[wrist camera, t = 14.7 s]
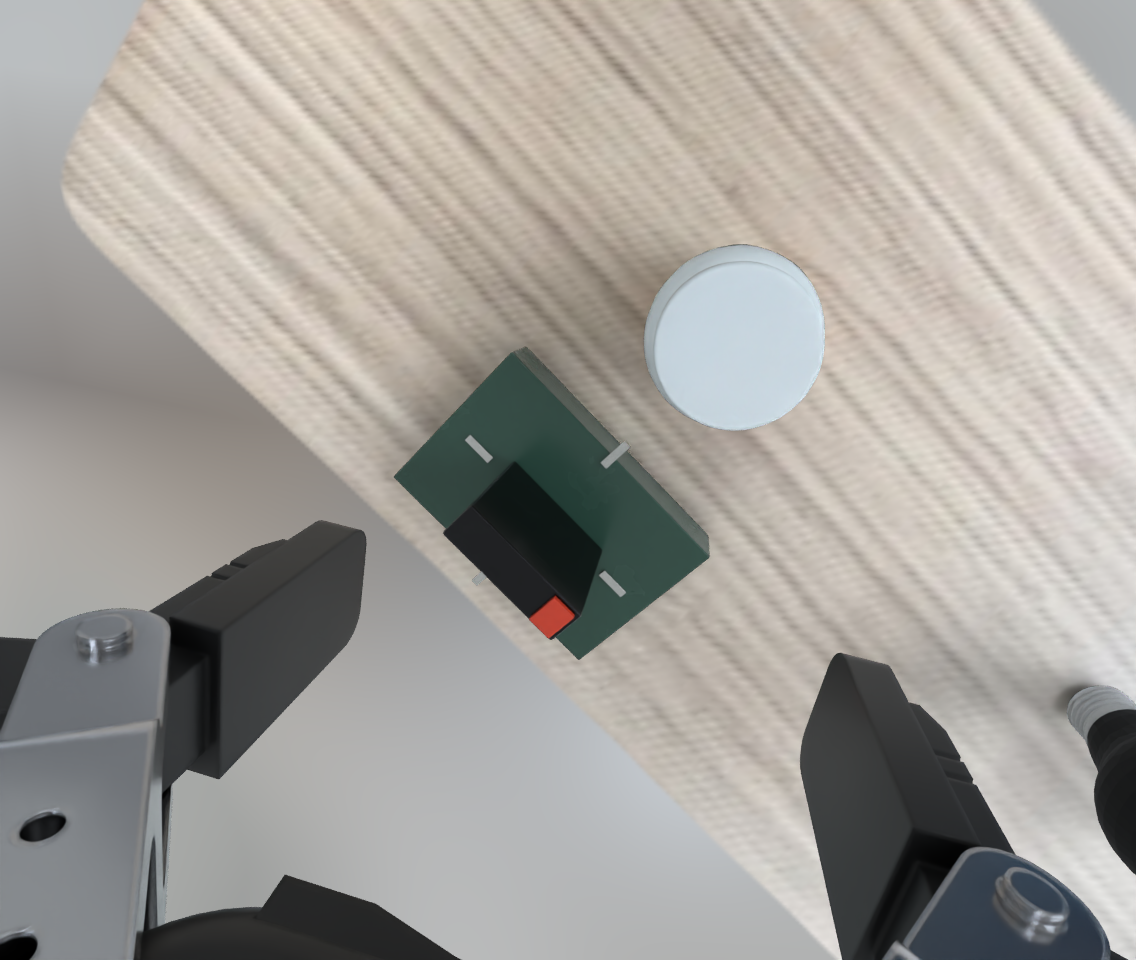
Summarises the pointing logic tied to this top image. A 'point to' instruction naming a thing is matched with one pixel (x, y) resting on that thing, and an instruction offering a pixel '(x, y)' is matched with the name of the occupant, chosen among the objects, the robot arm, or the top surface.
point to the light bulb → (1111, 762)
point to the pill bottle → (735, 337)
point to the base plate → (562, 488)
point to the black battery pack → (528, 549)
